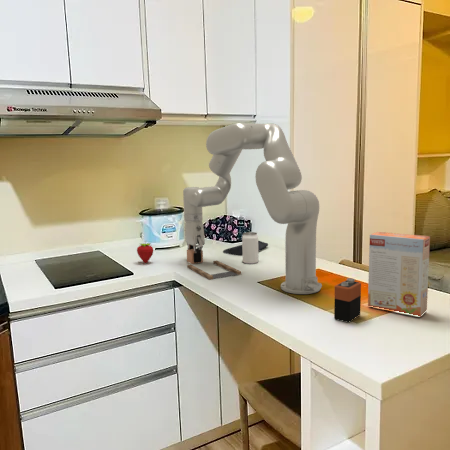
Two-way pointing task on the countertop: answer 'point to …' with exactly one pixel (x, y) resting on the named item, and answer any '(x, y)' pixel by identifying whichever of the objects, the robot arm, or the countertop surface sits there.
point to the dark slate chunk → (238, 249)
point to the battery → (347, 300)
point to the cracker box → (398, 272)
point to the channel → (219, 275)
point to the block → (191, 256)
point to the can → (250, 247)
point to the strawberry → (145, 252)
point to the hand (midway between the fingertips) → (194, 260)
